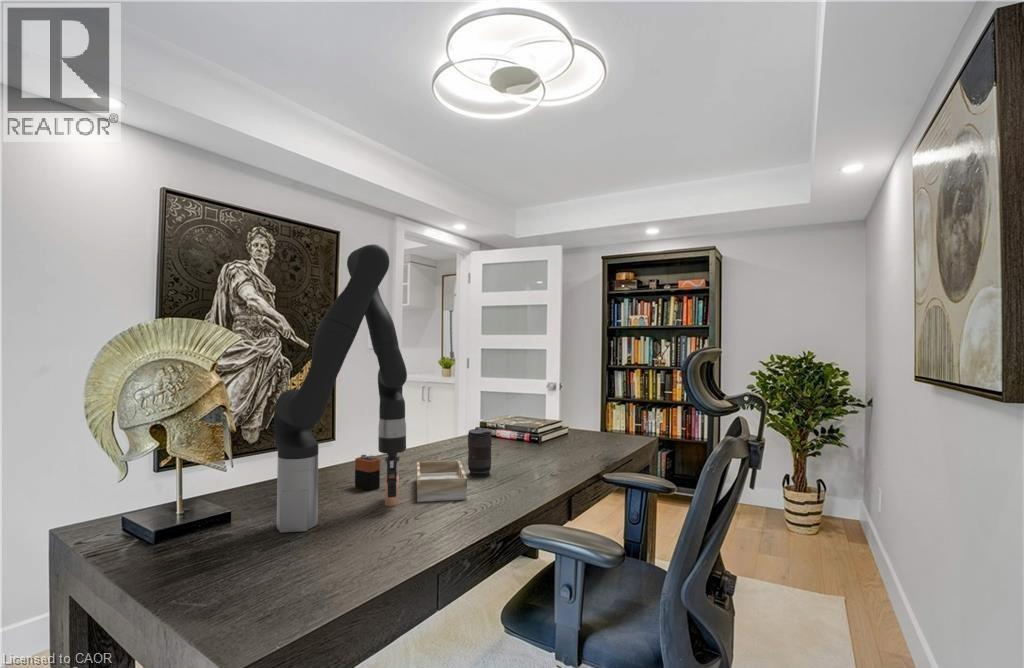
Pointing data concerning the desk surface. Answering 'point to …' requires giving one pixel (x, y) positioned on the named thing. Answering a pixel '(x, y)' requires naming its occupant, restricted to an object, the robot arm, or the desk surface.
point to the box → (441, 481)
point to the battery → (367, 472)
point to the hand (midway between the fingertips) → (392, 492)
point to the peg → (388, 500)
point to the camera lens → (479, 452)
